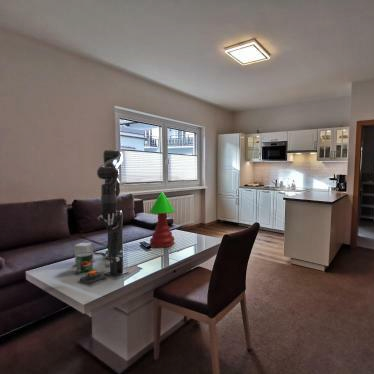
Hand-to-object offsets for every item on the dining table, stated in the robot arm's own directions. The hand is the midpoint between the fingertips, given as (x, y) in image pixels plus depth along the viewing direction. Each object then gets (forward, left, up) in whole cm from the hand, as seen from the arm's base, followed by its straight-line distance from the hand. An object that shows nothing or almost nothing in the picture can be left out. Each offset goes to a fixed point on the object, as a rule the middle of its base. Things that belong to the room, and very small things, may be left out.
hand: (109, 231), depth 134 cm
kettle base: (+2, +3, -26) cm, 27 cm away
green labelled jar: (-32, +4, -27) cm, 42 cm away
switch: (-1, +3, -21) cm, 21 cm away
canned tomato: (-18, -3, -27) cm, 32 cm away
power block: (-2, -8, -26) cm, 28 cm away
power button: (-2, -8, -23) cm, 24 cm away
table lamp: (-18, +59, -26) cm, 67 cm away
